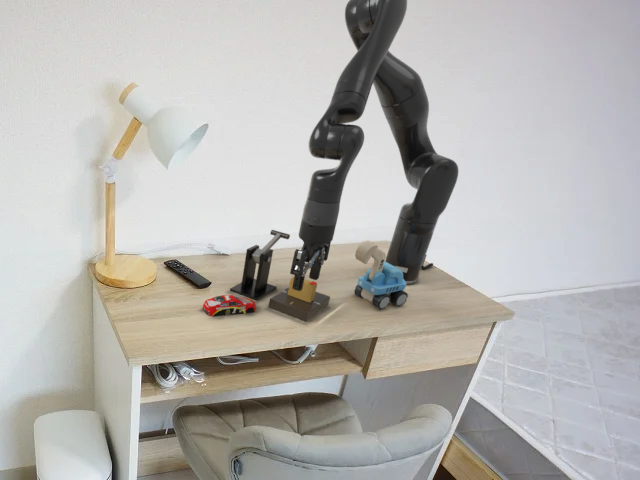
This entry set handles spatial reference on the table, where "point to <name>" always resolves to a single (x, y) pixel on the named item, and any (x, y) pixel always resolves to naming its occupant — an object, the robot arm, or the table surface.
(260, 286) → the lever bracket
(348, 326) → the table surface
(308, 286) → the lock knob
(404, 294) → the toy excavator
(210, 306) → the race car
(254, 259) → the grey lever handle
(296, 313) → the lock plate
